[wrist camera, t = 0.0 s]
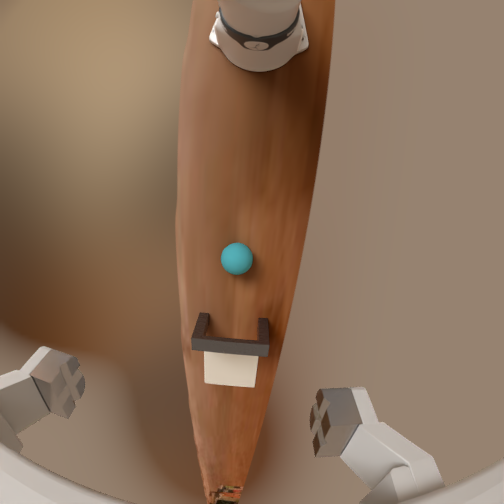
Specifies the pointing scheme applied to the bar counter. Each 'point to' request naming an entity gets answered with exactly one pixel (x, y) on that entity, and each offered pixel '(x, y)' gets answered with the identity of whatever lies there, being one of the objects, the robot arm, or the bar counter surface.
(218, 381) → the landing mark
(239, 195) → the bar counter surface
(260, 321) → the bridge
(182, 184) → the bar counter surface
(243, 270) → the ball
